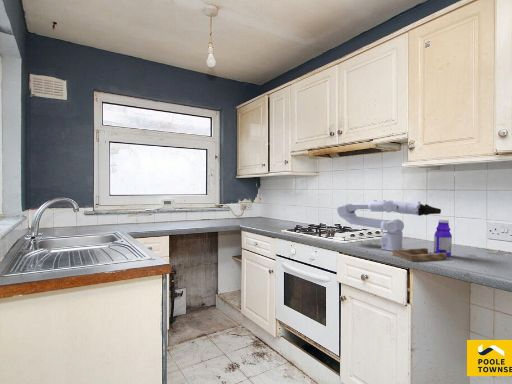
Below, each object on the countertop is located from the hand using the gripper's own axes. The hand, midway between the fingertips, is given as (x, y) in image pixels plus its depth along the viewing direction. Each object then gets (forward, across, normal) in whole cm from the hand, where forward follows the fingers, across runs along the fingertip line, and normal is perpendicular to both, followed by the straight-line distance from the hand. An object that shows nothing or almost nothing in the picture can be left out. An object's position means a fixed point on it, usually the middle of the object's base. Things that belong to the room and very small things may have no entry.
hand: (438, 211), depth 143 cm
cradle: (-5, -7, +22) cm, 24 cm away
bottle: (+2, +4, +21) cm, 22 cm away
